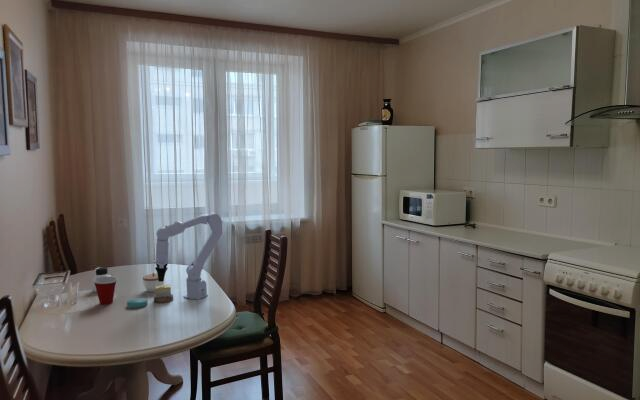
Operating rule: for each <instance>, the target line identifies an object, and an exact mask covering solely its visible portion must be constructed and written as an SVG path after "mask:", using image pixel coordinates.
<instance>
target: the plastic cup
mask: <svg viewBox="0 0 640 400" xmlns="http://www.w3.org/2000/svg"><path fill="white" fill-rule="evenodd" d="M117 281H118V278H117V277H116V276H111V277H99V278H95V279H94V280H93V282H94V283H95V287H96V290H97V291H96V295H97V298H98V301H99V304H100V305H101V306H102V305H106V306H107V305H110V304H112V303H114V296H115V289H116V285H117Z"/></svg>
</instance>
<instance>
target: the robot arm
mask: <svg viewBox="0 0 640 400" xmlns="http://www.w3.org/2000/svg"><path fill="white" fill-rule="evenodd" d="M200 224H202V225H209V227H210V230H211V232H210V234H209V236H208V238H207V240H206V241H205V243H204V244H203V246H202V247H201V249H200V251H199V253H198V254H197V256H196V258H195V259H194V260H193V261H192V263H190V264H189V265H187V267H186V269H185V271H186V274H187V278H186V281H185V282H186V283H185V284H186V295H184V296H183V298H185V299H191V300H197V301H198V300H200V299H202V298H205V297H207V296H208V292H207V290H208V289H207V282H206V281H205V280H203V279H202V277H201V275H202V274H201V273H202V271H203V268H204V265H205V263H206V262H207V261H208V258H209V257H210V255H211V253H212V252H213V250H214V248H215V247H216V246H217V243H218V242H219V240H220V239H221V237H222V235H223V221H222V217H221V215H219V214H218V213H217V212H215V211H209V212H207V213H203V214H201V215H198V216H195V217H193V218H191V219H189V220H186V221H184V222H182V221H177V220H176V221H174V222H173V223H171V224H169V225H167V224H166V225H164V226H163V227H159V228H158V229H157V231H156V243H155V244H156V245H155V246H156V247H155V260H153V261H152V262H153V264H154V263H155V265H156V266H155V271H156V274H158V280H159V282H163V281H164V282H165V275H166V273H167V271H168V265H169V249H170V248H169V247H170V246H169V245H170V244H169V238H170V237H174V236H177V235H180V234H183V233H184V232H185V230H186V229H188V228H191V227H193V226H194V227H195V226H197V225H200Z"/></svg>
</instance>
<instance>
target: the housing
mask: <svg viewBox="0 0 640 400" xmlns="http://www.w3.org/2000/svg"><path fill="white" fill-rule="evenodd" d="M155 289H156V292H155V296H156V298H165V297H171V294H172V288H171V284H164V285H161V286H155Z"/></svg>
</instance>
